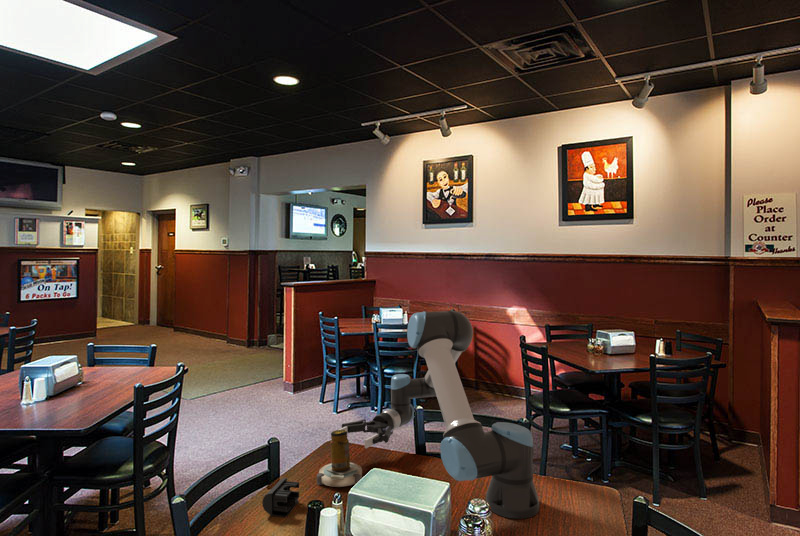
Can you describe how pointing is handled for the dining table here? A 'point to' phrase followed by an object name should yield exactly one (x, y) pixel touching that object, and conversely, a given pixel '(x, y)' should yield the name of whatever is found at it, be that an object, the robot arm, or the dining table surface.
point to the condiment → (340, 453)
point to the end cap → (281, 499)
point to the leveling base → (338, 476)
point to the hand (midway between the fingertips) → (349, 439)
